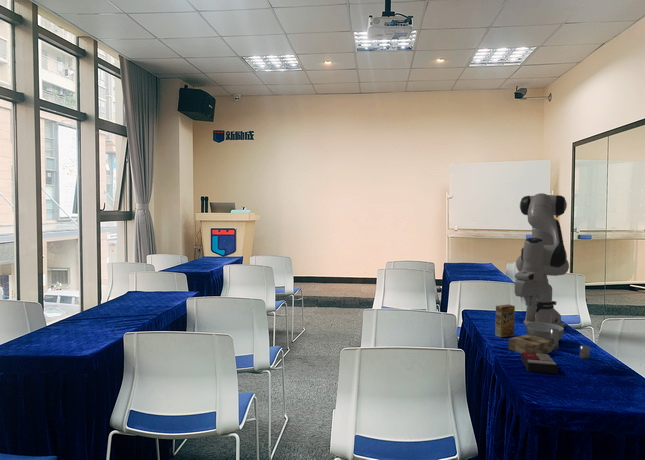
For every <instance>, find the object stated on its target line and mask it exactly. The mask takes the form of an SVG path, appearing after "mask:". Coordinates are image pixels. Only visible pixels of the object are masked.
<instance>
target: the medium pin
mask: <svg viewBox="0 0 645 460" xmlns="http://www.w3.org/2000/svg"><path fill="white" fill-rule="evenodd" d="M550 340H551V341H552V351H558V350H559V340H560V339H559V330H558V329H554V328H551V329H550Z"/></svg>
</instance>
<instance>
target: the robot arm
mask: <svg viewBox="0 0 645 460" xmlns="http://www.w3.org/2000/svg"><path fill="white" fill-rule="evenodd" d="M567 205H568V202H567V201H566V198H565V196H564V195H563V196H562V195H559V194H556V195H555V194H546V193H536V194H534V195H526V196H525V195H524V196H523V197H522V198H521V200H520V203H519V209H520V211H521V214H522V215H524V216H527V221H528V223H529V225H530V226H531V237H528V238H526V239H525V240H524V245H523V247H522V248H521V249H520V250H521V251H520V255H519V256H518V257H517V259H516V262H515V267H516V269H517V270H518V272H517V273H515V274H514V279H515V281H514V294H515V296H516V297H520V298H523V300H524V301H525V303H524V304H525V306H530V305H531V302H530V300H529V298H530V296H533V295H535V291H537V292H536V294H537V297H536V322H542V323H551V324H556V325H559V326H561V327H563V328H564V327H566V326H567V324H566V323H565V322H562V316H561V314H560V313H559V311H558V310H556V309H555V308H554V307H555V306H556V305H557V304H558V303H557V301H555V300H553V287H552V285H551V284H550V283H549V279H548V276H551V277H552V276H553V277H554V276H555V277H557V276H564V275H566V274H567V273H568V272H569V268H570V263H569V261H568V259H567V258H568V256H567V255H568V254H567V251H566V247H565V245H564V239H563V232H562V228H561V224H560V222H559V220H558V219H557V218H558V217H560V216H562V215H563V214H565V213H566V212H565V211H566V210H567V207H568V206H567ZM555 216H556V218H555ZM525 312H526V313H525V319H524V320H523V323H524V325H525V326H526V324H528V323H533V322H529V321H527V310H526V311H525ZM565 324H566V325H565Z"/></svg>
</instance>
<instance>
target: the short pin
mask: <svg viewBox="0 0 645 460" xmlns="http://www.w3.org/2000/svg"><path fill="white" fill-rule="evenodd" d="M590 348H591V347H590V346H588V345H584V344H583V345H579V359H583V360H589V359H590Z"/></svg>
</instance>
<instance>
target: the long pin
mask: <svg viewBox="0 0 645 460" xmlns="http://www.w3.org/2000/svg"><path fill="white" fill-rule="evenodd" d="M536 292H537V291H535V295H533V296H530V298H529V300H530V302H531V305H530V306H527V305H526V306H527V308H526V311H527V321H529V322H536V297H537V294H536Z"/></svg>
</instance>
